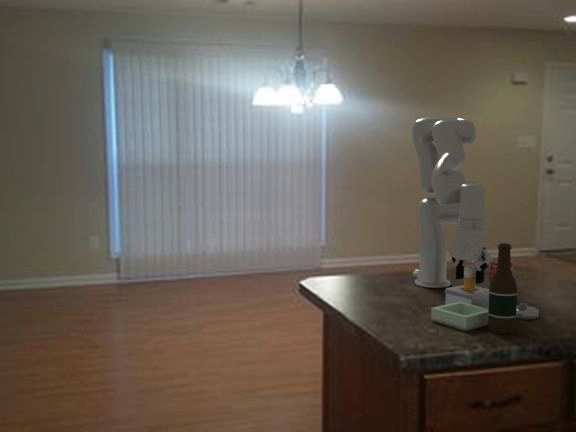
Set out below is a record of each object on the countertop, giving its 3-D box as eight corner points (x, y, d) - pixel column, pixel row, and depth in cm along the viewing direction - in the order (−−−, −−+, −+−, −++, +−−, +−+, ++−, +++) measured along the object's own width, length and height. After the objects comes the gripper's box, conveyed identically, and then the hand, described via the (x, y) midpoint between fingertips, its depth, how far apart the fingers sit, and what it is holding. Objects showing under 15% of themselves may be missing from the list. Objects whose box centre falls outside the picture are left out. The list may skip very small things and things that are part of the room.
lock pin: (460, 307, 201) (461, 266, 199) (467, 306, 203) (468, 265, 201) (469, 310, 198) (470, 268, 196) (476, 308, 200) (477, 267, 198)
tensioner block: (444, 307, 201) (444, 288, 200) (467, 302, 208) (467, 283, 207) (469, 314, 193) (470, 294, 192) (493, 308, 200) (494, 289, 199)
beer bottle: (482, 326, 180) (485, 242, 178) (509, 326, 181) (512, 241, 178) (493, 335, 173) (496, 246, 170) (521, 334, 173) (525, 246, 171)
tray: (431, 320, 186) (431, 307, 186) (459, 313, 194) (459, 301, 193) (465, 330, 176) (466, 317, 176) (493, 323, 184) (494, 310, 183)
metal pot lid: (500, 314, 193) (500, 302, 192) (518, 310, 198) (518, 298, 198) (526, 321, 185) (527, 309, 185) (544, 316, 191) (545, 304, 190)
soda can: (513, 303, 205) (515, 263, 204) (490, 302, 207) (491, 263, 205) (510, 298, 212) (512, 259, 211) (487, 297, 214) (489, 259, 212)
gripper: (441, 221, 202) (439, 277, 204) (487, 227, 188) (485, 287, 190) (456, 220, 206) (455, 274, 209) (503, 225, 192) (500, 284, 194)
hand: (469, 280), depth 199 cm, fingers open, 6 cm apart
